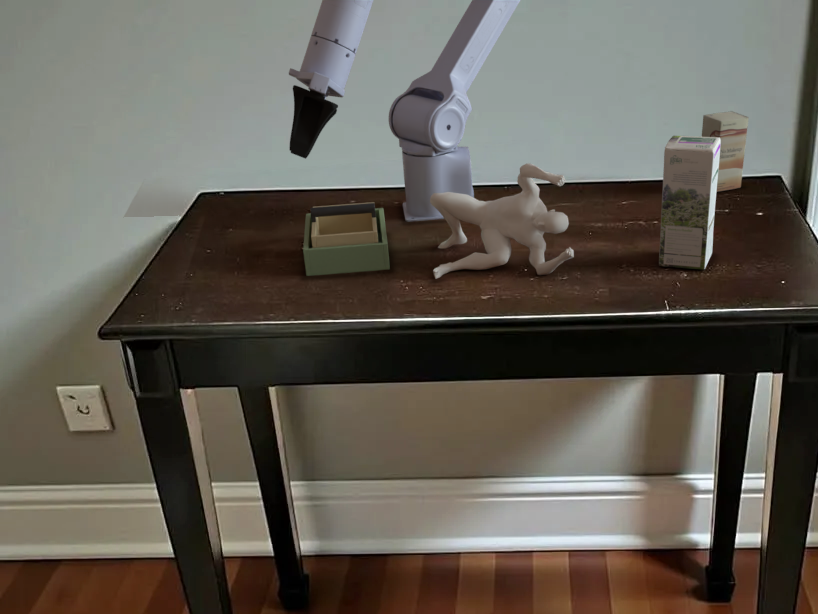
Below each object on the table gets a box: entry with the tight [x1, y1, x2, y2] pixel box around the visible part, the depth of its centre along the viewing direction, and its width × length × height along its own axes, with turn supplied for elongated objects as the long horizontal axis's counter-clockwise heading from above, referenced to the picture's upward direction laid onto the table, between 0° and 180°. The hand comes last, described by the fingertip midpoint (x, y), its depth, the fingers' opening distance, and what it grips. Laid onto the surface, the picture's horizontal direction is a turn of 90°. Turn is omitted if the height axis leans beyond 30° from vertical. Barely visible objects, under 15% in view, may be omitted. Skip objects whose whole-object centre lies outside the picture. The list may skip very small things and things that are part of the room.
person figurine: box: [430, 162, 575, 280], centre depth 130 cm, size 13×13×18 cm
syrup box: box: [658, 135, 721, 271], centre depth 126 cm, size 6×6×14 cm
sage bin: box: [302, 207, 391, 277], centre depth 136 cm, size 10×14×4 cm
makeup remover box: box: [701, 110, 749, 193], centre depth 152 cm, size 5×4×10 cm
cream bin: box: [310, 201, 378, 248], centre depth 135 cm, size 8×12×6 cm, turn 7°
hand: (297, 154), depth 132 cm, fingers open, 7 cm apart
